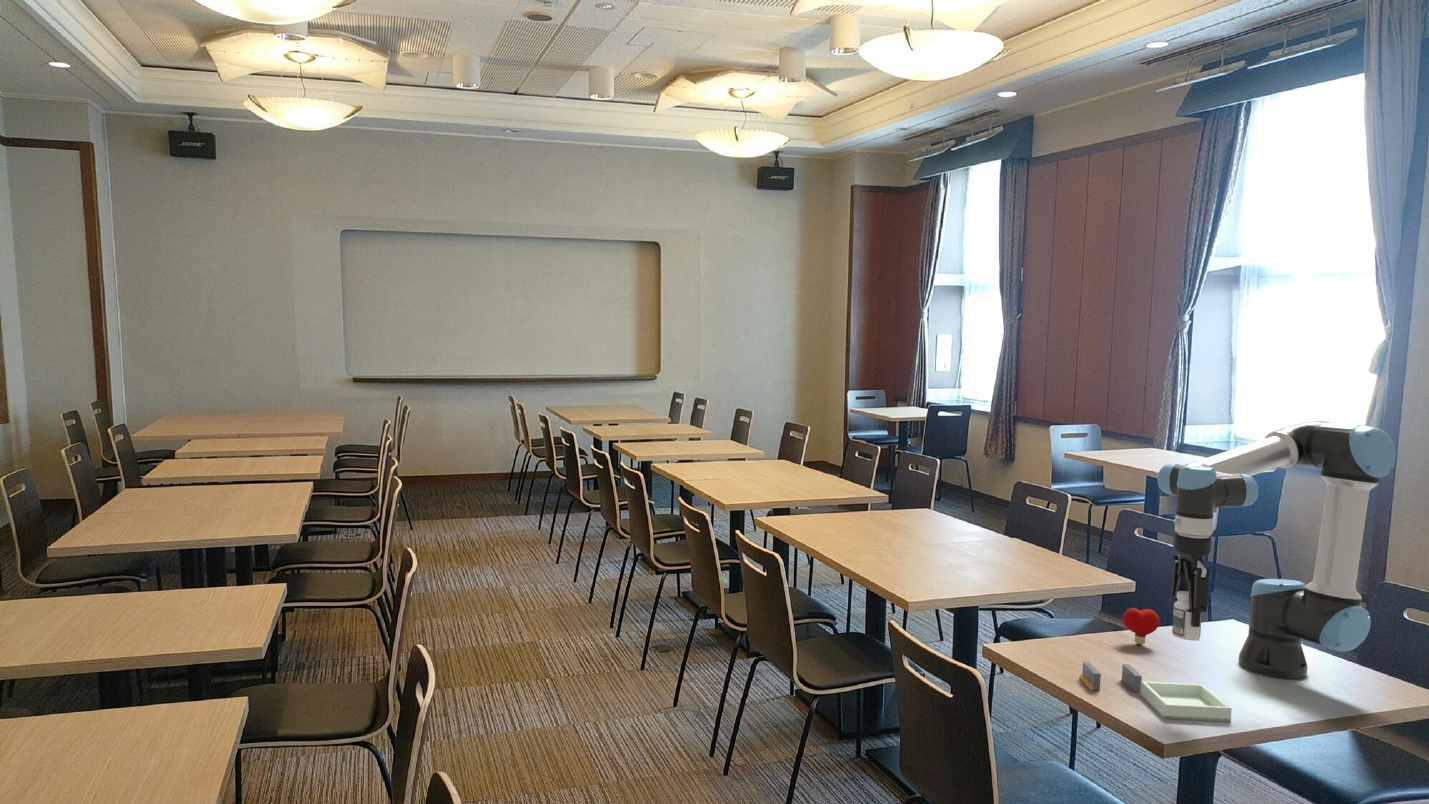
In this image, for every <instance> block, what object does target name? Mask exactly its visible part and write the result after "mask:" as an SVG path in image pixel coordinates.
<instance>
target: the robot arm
mask: <svg viewBox="0 0 1429 804" xmlns="http://www.w3.org/2000/svg"><path fill="white" fill-rule="evenodd" d="M1395 461H1396V448H1395V445H1394V442H1393V440H1392V439H1391V438H1390V435H1389V434H1388V433H1387V432H1386V431H1384V430H1382V429H1381V428H1378V427H1372V426H1368V425H1365V424H1354V423H1353V424H1351V423H1342V422H1330V421H1325V420H1323V421H1322V420H1319V421H1318V420H1317V421H1315V420H1313V421H1309V422H1308V421H1307V422H1304V423H1298V424H1294V425H1290V426H1288V427H1287V426H1286V427H1283V428H1281V429H1277V430H1275V431H1271V432H1269V433H1268V434H1266V436H1265V437H1264V438H1263V439H1260V440H1257V441H1254V442H1251V443H1249V444H1246V445H1245V444H1244V445H1241V446H1238V447H1236V448H1233V449H1230V450H1226V451H1224V452H1221V453H1218V454H1215V455H1212V456H1208V457H1206V458H1205V457H1204V458H1203V459H1200V460H1196V461H1192V462H1190V463H1187V464H1182V465H1181V464H1179V463H1174V464H1173V463H1168V464H1165V465H1163V466H1162V467H1161V468H1160V470H1159V471H1158V473H1157V477H1156V479H1157V480H1156V481H1157V485H1158V488H1159V489H1160V491H1162V492H1163V493H1165V494H1168V495H1171V496H1173V497H1176V502H1175V503H1176V504H1175V519H1173V520H1172V521H1173V523H1174V532H1176V533H1175V534H1173V550H1174V551H1176V552H1178V553H1179V554H1173V556H1172V561H1173V562H1172V563H1173V566H1172V567H1173V568H1172V576H1171V577H1172V579H1171V589H1170V596H1171V597H1173V600H1174V602H1176V601H1178V599H1177V597H1176V596H1177V592H1178V591H1189V608H1190V609H1186V611H1187V623H1186V641H1197V642H1200V638H1201V634H1200V625H1201V626H1202V615H1201V613H1202V614H1203V613H1207V612H1208V600H1209V599H1208V597H1209V578H1210V575H1211V574H1210V573H1211V569H1210V568H1209V567H1205V565H1204V556H1205V555H1206V556H1207V555H1209V554H1211V551H1212V541H1213V540H1212V538H1211V537H1210V536H1212V535H1213V526H1214V511H1215V510H1214V509H1217V508H1238V509H1239V508H1242V507H1248V506H1251V505H1253V504H1254V503H1255V502H1256V501H1257V499H1258V497H1259V491H1260V490H1259V485H1258V483H1257V481H1256V480H1255V478H1253V476H1255V475H1259V474H1261V473H1264V472H1267V471H1270V470H1274V469H1276V468H1280V469H1289V468H1293V467H1298V466H1299V467H1300V466H1302V467H1312V468H1317V469H1321V473H1320V478H1321V479H1322V480H1323V481H1324V482H1325V483H1326V489H1325V497H1324V503H1323V510H1322V515H1321V516H1322V518H1321V523H1320V531H1319V538H1318V545H1317V550H1316V558H1315V565H1314V569H1313V570H1314V571H1313V578H1312V581H1310V582H1309V583H1307V584H1306V583H1304V582H1303V581H1300V580H1294V579H1293V580H1292V579H1285V578H1284V579H1282V578H1264V579H1262V578H1261V579H1258V580H1255V581H1254V582H1253V584H1252V587H1251V594H1250V607H1249V621H1248V624H1249V625H1248V635H1247V636H1246V640H1245V641H1244V643H1243V645H1242V647H1241V650H1240V652H1239V654H1238V664H1239V665H1240V666H1241V667H1243V668H1245V669H1246V670H1248V671H1251V672H1253V673H1256V674H1258V675H1259V674H1260V675H1262V676H1263V675H1264V676H1267V677H1273V678H1278V679H1287V680H1291V679H1294V680H1296V679H1297V680H1298V679H1303V678H1305V677H1307V675H1308V663H1307V660H1306V656H1305V652H1304V650H1303V647H1302V640H1305V641H1309V642H1310V643H1313V644H1317V645H1319V646H1322V647H1324V648H1326V649H1331V650H1335V651H1339V652H1349V651H1353V650H1355V649H1356V648H1358V647H1359V646H1360V644H1362V643H1363V642H1364V641H1365V639H1367V637H1368V634H1369V632H1370V629H1371V623H1372V622H1371V621H1372V620H1371V616H1370V612H1369V611H1368V610H1367V609H1366V608H1364V607H1363V606H1362V596H1361V594H1360V593H1359V592H1358V591H1357V589H1356V586H1357V578H1358V572H1359V566H1360V559H1361V553H1362V552H1361V551H1362V546H1363V544H1362V543H1363V537H1364V533H1365V532H1364V531H1365V525H1366V518H1367V510H1368V505H1369V504H1368V503H1369V499H1370V492H1371V490H1373V489H1374V488H1376V487H1377V486H1378V485H1379V484H1380V479H1381V478H1384V477H1386V476H1387V475H1389V474H1390V473H1391V470H1393V468H1394V466H1395V464H1396V463H1395Z"/></svg>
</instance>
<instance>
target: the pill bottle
mask: <svg viewBox="0 0 1429 804" xmlns="http://www.w3.org/2000/svg"><path fill="white" fill-rule="evenodd" d="M1176 597H1177V599H1178V601H1174V603H1173V611H1172V614H1173V615H1172V629H1171V630H1172V631H1171V633H1172V636H1174V637H1175V638H1178V639H1181V640H1186V623H1187V611H1186V609H1190V608H1189V591H1178V592H1177V596H1176ZM1202 614H1203V613H1201V616H1202ZM1201 631H1202V624H1201V625H1200V635H1201ZM1186 641H1187V640H1186Z"/></svg>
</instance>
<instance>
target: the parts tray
mask: <svg viewBox="0 0 1429 804" xmlns="http://www.w3.org/2000/svg"><path fill="white" fill-rule="evenodd" d="M1140 696H1142V697H1143V699H1145V700H1146V701H1147V703H1149V704H1150V705H1151V706H1152V707H1153V708H1154V709H1155V710H1156V711H1157V712H1158V713H1159V714H1160V715H1161V716H1162V717H1163V718H1164V719H1165V720H1167V719H1168V720H1169V719H1170V720H1184V721H1186V720H1187V721H1205V722H1220V723H1221V722H1223V723H1231V721H1232V707H1231V706H1229V705H1228V704H1227V703H1226V702H1225V701H1224V700H1222V699H1221V698H1220V697H1219V696H1217V695H1216V694H1215V693H1214V692H1212V691H1211V690H1210V689H1208V688H1207V687H1206V686H1205V685H1204V684H1200V683H1199V684H1198V683H1183V682H1163V681H1161V682H1160V681H1141V691H1140Z"/></svg>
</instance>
